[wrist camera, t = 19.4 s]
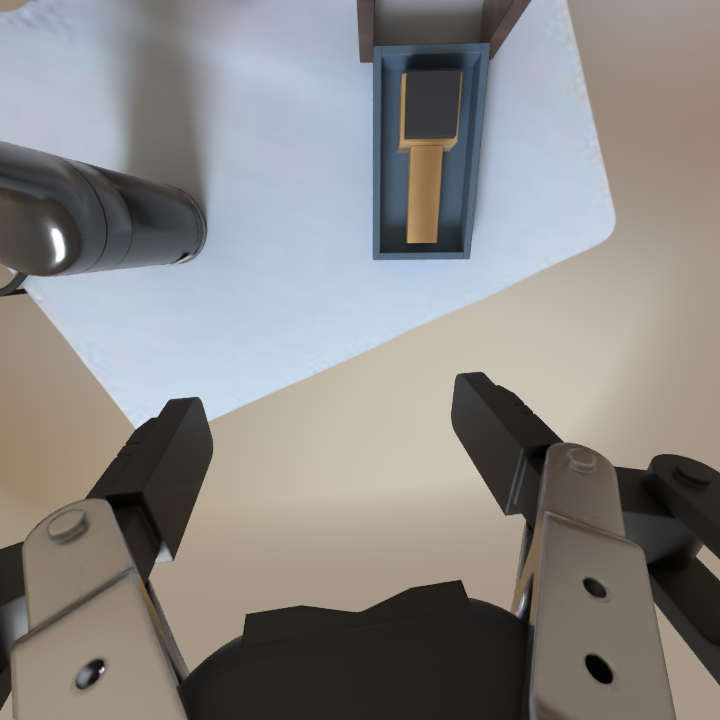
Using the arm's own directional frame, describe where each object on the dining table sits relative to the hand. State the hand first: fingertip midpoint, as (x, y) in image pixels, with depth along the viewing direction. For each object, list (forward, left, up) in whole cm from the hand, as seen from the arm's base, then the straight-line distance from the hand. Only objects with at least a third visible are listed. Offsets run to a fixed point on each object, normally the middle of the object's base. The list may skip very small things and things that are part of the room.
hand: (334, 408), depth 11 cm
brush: (+7, +13, -35) cm, 38 cm away
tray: (+7, +13, -36) cm, 39 cm away
